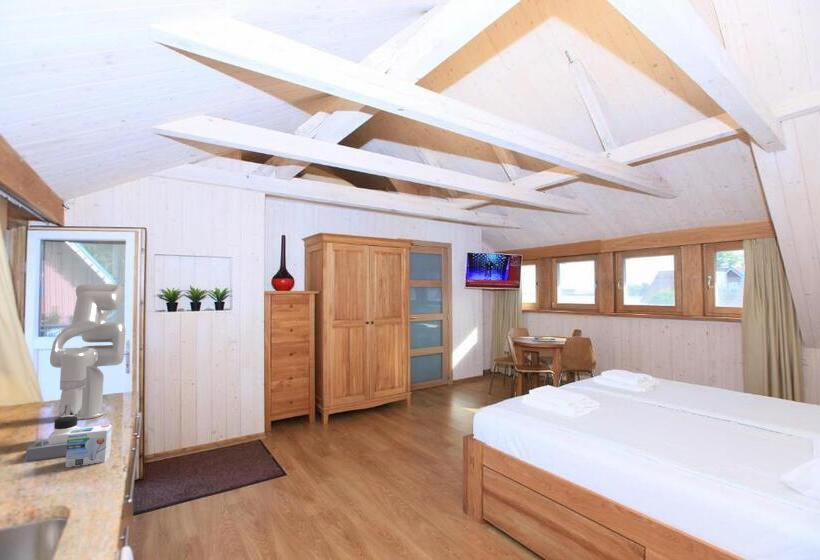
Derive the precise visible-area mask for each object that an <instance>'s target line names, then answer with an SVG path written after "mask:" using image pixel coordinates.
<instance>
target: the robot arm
mask: <svg viewBox="0 0 820 560" xmlns="http://www.w3.org/2000/svg"><path fill="white" fill-rule="evenodd" d="M124 295H125V290H124V288H123V286H122V285H120V284H113V283H112V284H111V283H110V284H105V283H103V284H102V283H83V284H80V285H77V287H76V288H75V296H76V302H75V305H74V312H73V316H72V320H71V321H72V322H71V324H70V325H69V326H67V327H66V328H64V329H63V330H62V331H60V333H58V335H57V336H56V337H55V339H54V340H53V342H52V345H51V346H52V348H51V350H50V356H49V363H50V365H51V367H52V368H56V369H57V368H58V369H60V375H59V376H60V377H59V378H60V380H59V390H60V391H61V394H60V399H59V406H58V407H59V409H58V416H59V418H60V417H63V416H76V417H77V421H78V420H80V421H81V420H89V419H93V418H99V417H102V416H103V415H105V414H106V413H107V410H106V409H104V408H103V396H104V395H103V394H104V378H105V376H104V374H103V372H102V371H101V369H100V368H99V367H106V366H107V367H108V366H109V367H111V366H119V365H121V364H122V363H123V362H124V358H125V357H124V356H125V342H126V327H125V324H124V323H123V322H120V321H107V318H108V317H107V316H108V311H116V310H117V309H119V307H120V305H121V303H122V301H123V299H124ZM79 335H81V339H82V341H83V342H86V343H111V344H107V345H106V344H101V345H99V344H98V345H97V344H96V345H86V346H82V347H66V348H64V345H65V344H66V343H67V341H69V340H70V339H72V338H74V337H77V336H79Z"/></svg>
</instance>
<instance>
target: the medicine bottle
mask: <svg viewBox="0 0 820 560" xmlns="http://www.w3.org/2000/svg"><path fill="white" fill-rule="evenodd" d="M53 424H54V426H53V432H52V433H50V434H49V436H48V444H47V446H48V445H56V444H63V443H67V438H68V434H69V433H70V432H71V431H72V430H73V429H74V428H82V427H81V426H78V420H77V417H76V416H65V415H63V416H61V417H60V416H59V417H58V418H56V419H55V420H54V423H53Z"/></svg>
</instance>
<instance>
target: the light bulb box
mask: <svg viewBox="0 0 820 560" xmlns="http://www.w3.org/2000/svg"><path fill="white" fill-rule="evenodd" d="M112 428H113V426H112V424H110V423H109V424H105V425H94V426H85V427H83V426H82V427H81V428H74V429H73V430H72V431H71V432H70V433H69V434H68V438H67V452H66V456H65V466H64V467H67V468H72V466H75V467H81V466H80V465H82V466H87V465H88V464H90V465H94V463H97V464H101V463H100V462H104V463H106V462H107V460H108V459H109V457H110V456H111V445H112V444H111V442H112ZM109 455H110V456H109ZM107 458H108V459H107ZM105 461H106V462H105Z"/></svg>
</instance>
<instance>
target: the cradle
mask: <svg viewBox="0 0 820 560" xmlns="http://www.w3.org/2000/svg"><path fill="white" fill-rule="evenodd" d="M66 452H67V443H63V444H56V445H48V444H47V445H44V438H37V440H35V441H34V442H33V443H32V444H31V445H30V446H29V447H28V448H26V453H25V462H27V461H28V462H34V461H40V460H41V461H42V460H49V459H55V458H62V456H64V457H66ZM28 462H27V463H28Z"/></svg>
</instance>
